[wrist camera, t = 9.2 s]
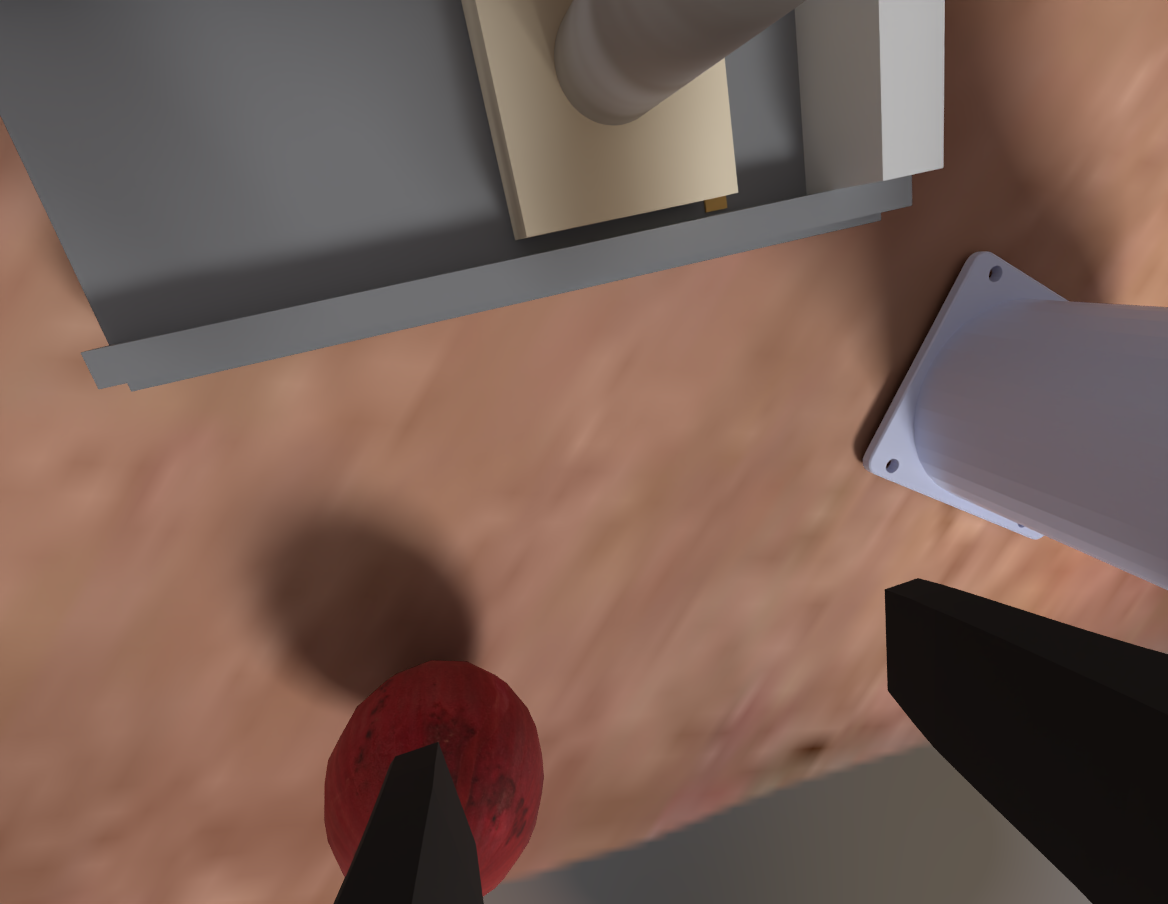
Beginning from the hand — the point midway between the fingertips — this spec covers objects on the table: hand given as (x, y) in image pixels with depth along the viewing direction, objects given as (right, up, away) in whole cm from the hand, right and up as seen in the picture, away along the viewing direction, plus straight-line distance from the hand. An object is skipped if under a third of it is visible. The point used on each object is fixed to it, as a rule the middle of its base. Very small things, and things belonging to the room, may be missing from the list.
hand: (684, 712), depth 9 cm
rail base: (-4, +13, +6) cm, 15 cm away
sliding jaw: (-1, +13, +5) cm, 14 cm away
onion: (-6, -4, +11) cm, 13 cm away
